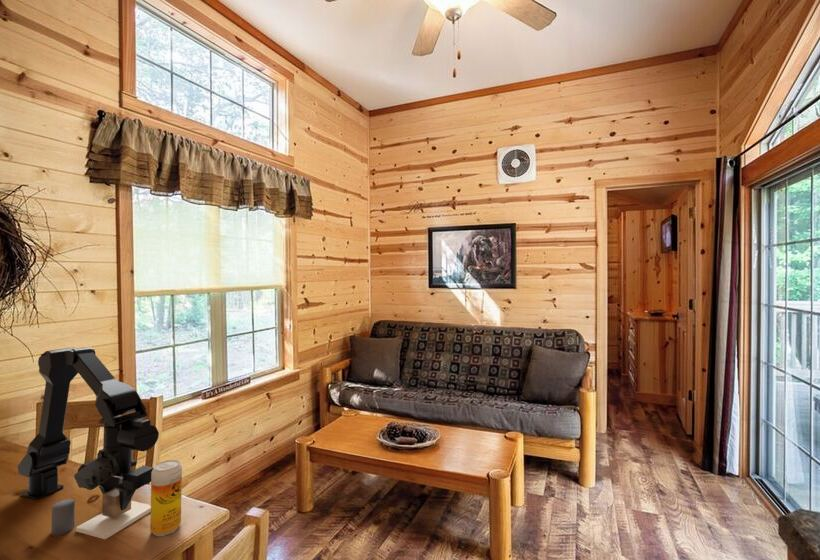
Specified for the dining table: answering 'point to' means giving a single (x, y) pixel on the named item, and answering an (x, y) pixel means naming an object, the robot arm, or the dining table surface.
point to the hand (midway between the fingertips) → (116, 507)
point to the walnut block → (113, 504)
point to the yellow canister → (166, 497)
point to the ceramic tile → (113, 521)
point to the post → (63, 517)
